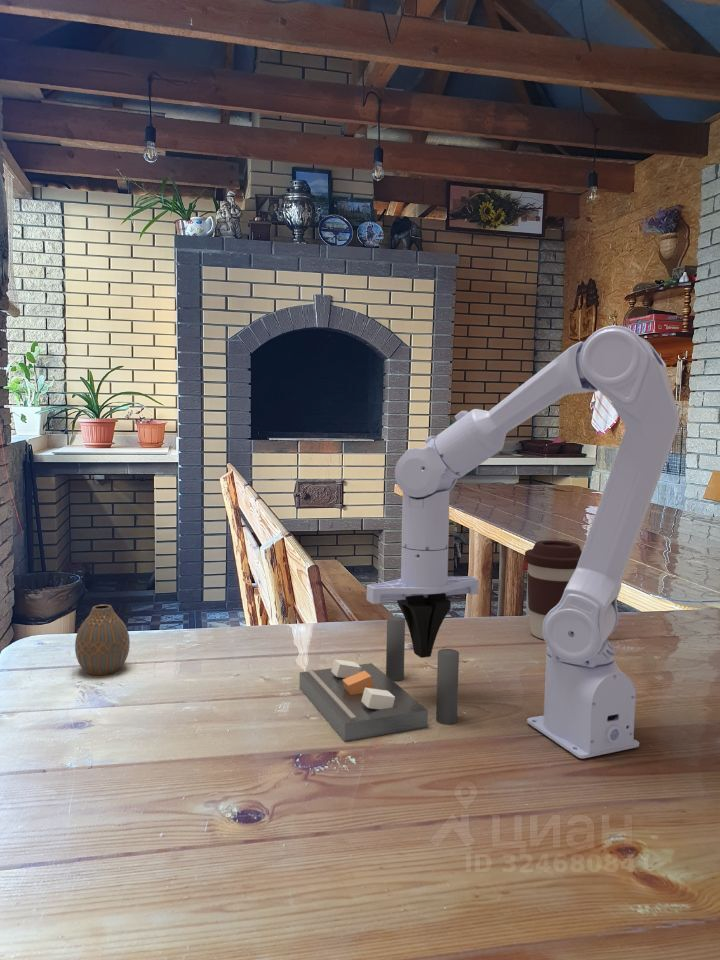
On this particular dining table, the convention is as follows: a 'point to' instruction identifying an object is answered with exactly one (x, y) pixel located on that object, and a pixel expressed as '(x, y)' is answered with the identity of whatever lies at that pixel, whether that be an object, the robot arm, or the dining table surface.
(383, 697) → the paddle
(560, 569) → the coffee cup
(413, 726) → the breaker panel
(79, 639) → the vase
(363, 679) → the orange block
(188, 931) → the dining table surface
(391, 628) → the post
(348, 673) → the paddle
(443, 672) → the post
